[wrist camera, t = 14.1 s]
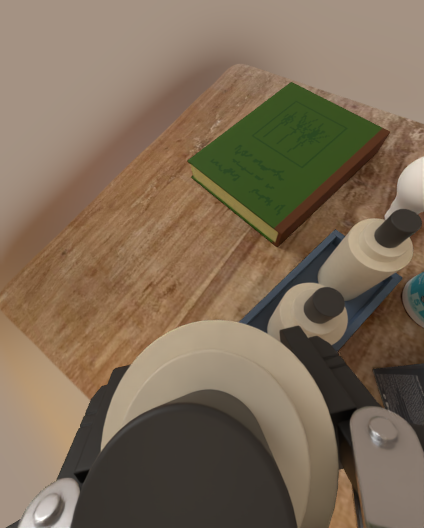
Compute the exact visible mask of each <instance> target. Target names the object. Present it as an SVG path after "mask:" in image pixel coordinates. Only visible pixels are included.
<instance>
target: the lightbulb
mask: <svg viewBox="0 0 424 528" xmlns="http://www.w3.org/2000/svg"><path fill="white" fill-rule="evenodd" d="M399 209H409V210H411V211H413V212H415V213H416V214H419V213H421V212H424V157H421V158H419V159H417V160H416V161H414V162H412V163H411V164H410V165H408V166H407V167H406V168H405V169H404V171H403V172H402V173H401V175H400V177H399V179H398V183H397V196H396V198H395V200H394V201H393V202H392V204H391V207H390V209H389V210H388V211H387V213H386V214H385V220H386V219H387V218H388V217H389V216H390V215H391V214H392V213H393V212H394V211H396V210H399Z"/></svg>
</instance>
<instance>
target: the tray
mask: <svg viewBox="0 0 424 528" xmlns="http://www.w3.org/2000/svg"><path fill="white" fill-rule="evenodd" d="M344 238H345V236H344V235H343V234H341V233H340V232H339V231H337V230H336V229H335V230H334V231H333V232H332V233H331V234H330V235H329V236H328V237H327V238H326V239H325V240H324V241H323V242H322V243H320V244H319V245H318V246H317V247H316V248H315V249H314V250H313V251H312V252H311V253H310V254H309V255H308V256H307V257H306V258H305V259H304V260H303V261H302V262H301V263H300V264H299V265H298V266H297V267H296V268H295V269H293V270H292V271H291V272H290V273H289V274H288V275H287V276H286V277H285V278H284V279H283V280H282V281H281V282H280V283H279V284H278V285H277V286H276V287H275V288H274V289H273V290H272V291H271V292H270V293H269V294H268V295H267V296H265V297H264V298H263V299H262V300H261V301H260V302H259V303H258V304H257V305H256V306H255V307H254V308H253V309H252V310H251V311H250V312H249V313H248V314H247V315H246V316H245V317H244V318H243V319H242V320H241V321H240V322H239V323H243V324H246V325H249V326H252V327H255V328H257V329H259V330H261V331H263V332H265V333H267V326H268V322H269V319H270V318H271V316H272V314H273V313H274V311H275V309H276V308H277V306H278V305H279V303H280V301H281V300H282V298H283V296H284V295H285V294H286V292H287V291H288V290H289V289H291V288H292V287H294V286H296V285H298V284H302V283H317V284H319V283H318V271H319V269H320V268H321V266H322V265H323V264H324V263H325V261H326V260H327V259H328V258H329V256H330V255H331V254H332V253H333V251H334V250H335V249H336V248H337V246H338V245H339V244H340V243H341V241H342V240H343V239H344ZM401 280H402V277H401V276H399V275H398V274H397V273H394V274H392V275H391V276H389V277H388V278H386V279H385V280H383V281H381V282H380V283H378V284H377V285H375V286H373V287H372V288H370V289H369V290H367V291H365V292H364V293H362V294H361V295H359V296H358V297H356V298H354V299H352V300H348V301H345V308H346V311H347V316H348V323H347V328H346V331H345V333H344V335H343V336H342V337H341V339H340V340H339V341H337V342H336V343H335V344H333V345H332V347H333V348H334V349H335V350H336V352H338V350H339V349H340V348H341V347H342V346H343V345H344V344H345V343H346V341H347V340H348V339H349V338H350V337H351V336H352V335H353V334H354V332H355V331H356V330H357V329H358V328H359V327H360V326H361V325H362V323H363V322H364V321H365V320H366V319H367V318H368V317H369V316H370V315H371V313H372V312H373V311H374V310H375V309H376V308H377V307H378V306H379V304H380V303H381V302H382V301H383V300H384V299H385V298H386V297H387V295H388V294H389V293H390V292H391V291H392V290H393V289H394V288H395V286H396V285H397V284H398V283H399V282H400V281H401ZM267 334H268V333H267Z"/></svg>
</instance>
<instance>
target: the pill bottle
mask: <svg viewBox="0 0 424 528" xmlns="http://www.w3.org/2000/svg"><path fill="white" fill-rule="evenodd" d="M402 299H403V304H404V307H405V309H406V311H407V313H408V314H409V316H410V317H411V318H412V319H413V320H414V321H415V322H416V323H417V324H419V325H420V326H422V327H423V328H424V272H422V273H421V274H419V275H417V276H415V277H413V278H412V279H410V280H409V281H408V282H407V284H406V285H405V287H404V289H403V294H402Z"/></svg>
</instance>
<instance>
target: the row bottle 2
mask: <svg viewBox="0 0 424 528" xmlns="http://www.w3.org/2000/svg"><path fill="white" fill-rule="evenodd" d="M421 225H422V221H421V218H420V217H419V215H418V214H416V213H415V212H413V211H411V210H409V209H399V210H396V211H394V212H393V213H392V214H391V215H390V216H389V217H388V218H387V219H386V220H383V219H366V220H363V221H360V222H359V223H357V224H356V225H354V226H353V228H352V229H351V230H350V231H349V233H348V234H347V235H346V236H345V238H344V239H343V240H342V241H341V243H340V244H339V245H338V246H337V248H336V249H335V250H334V251H333V253H332V254H331V255H330V256H329V258H328V259H327V260H326V261H325V263H324V264H323V265H322V266H321V268H320V269H319V271H318V283H319V284H320V285H323V286H326V287H331V288H334V289H336V290H337V291H338V292H340V293H341V295H342V296H343V298H344V301H348V300H352V299H354V298H356V297H358V296H359V295H361V294H362V293H364V292H365V291H367V290H369V289H370V288H372V287H373V286H375V285H377V284H378V283H380V282H381V281H383V280H385V279H386V278H388V277H389V276H391V275H392V274H394V273H396V272H397V271H399V270H400V269H402V268H404V267H405V266H406V265H407V264H408V263H409V262H410V260H411V258H412V255H413V245H412V242H411V240H410V236H411V235H413V234H414V233H415V232H416V231H418V230H419V229H420V227H421Z"/></svg>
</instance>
